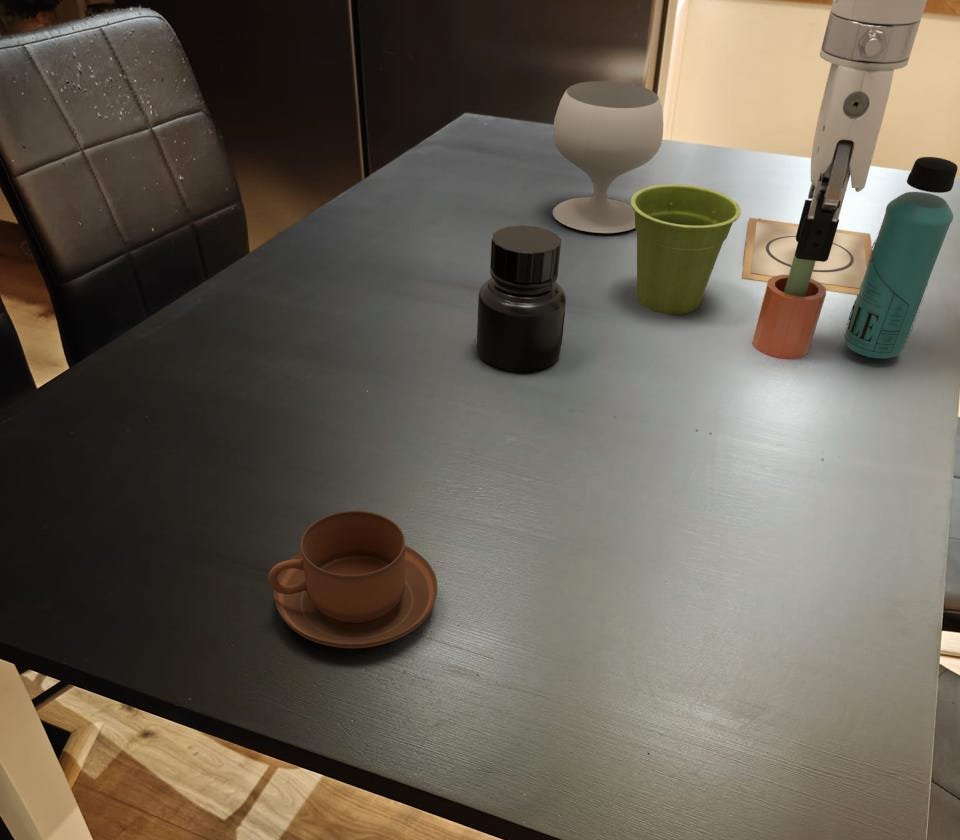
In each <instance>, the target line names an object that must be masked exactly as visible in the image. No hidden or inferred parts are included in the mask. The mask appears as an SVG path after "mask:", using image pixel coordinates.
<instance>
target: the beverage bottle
mask: <svg viewBox="0 0 960 840" xmlns="http://www.w3.org/2000/svg"><path fill="white" fill-rule="evenodd" d="M958 167H959V166H958V165H957V164H956V163H955V162H953V161H951V160H949V159H946V158H942V157H935V156H921V157H919V158H917V159H916V160H915V161H914V163H913V165H912V167H911V170H910V172H909V174H908V176H907V179H906V183H907V185H908V186H910V187H911V188H914V189H916V190H918V191H908V192H905V193H902V194H900V195H899V196H897V197H895V198H894V199H892V200H890V202H888V203H887V205H886V207H885V213H884V216H883V219H882V222H881V225H880V228H879V230H878V233H877V234H876V235H875V238H876V239H875V241H873V243H872V250H871V251H872V253H870V254H871V255H869V258H870V260H869V261H868V262H869V263H868V262H867V263H868V266H867V269H866V272H865V275H864V278H863V281H862V283H860V284H861V286H860V290H859V294H858V295H856V297H855V300H854V301H853V305H852V308H851V310H850V312H849V315H848V322H847V323H846V327H845V329H844V330H845V332H844V333H843V335H844V344H845V345H846V347H847V348H848V349H849V350H851V351H853V352H854V353H857V354H859V355H861V356H864V357H867V358H871V359H892V358H896V357H897V356H899V355H900V354H901V352H902V351H903V349H905V348H907V344H908V339H910V336H911V334H912V332H913V331H912V330H913V328H914V325H915V323H916V317H917V314H919V312H920V310H919V309H920V306H922V303H923V301H924V298H925V297H924V296H925V293H926V290H927V288H928V285H929V280H930V277H931V275H932V273H933V269H934V267H935V264H936V262H937V259H938V257H939V254H940V252H941V249H942V246H943V244H944V241H945V238H946V236H947V234H948V231H949V228H950V226H951V224H952V222H953V220H954V213H953V211H952V209H951V207H950V205H949V204H948V203H947V201H946V200H945V198H943V197H941V196H939V195H936V194H941V193H942V194H944V193H948V192H951V191H952V190H953V187H954V185H955V179H956V175H957V174H958ZM933 193H934V194H933ZM935 193H936V194H935ZM866 265H867V264H866Z"/></svg>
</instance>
